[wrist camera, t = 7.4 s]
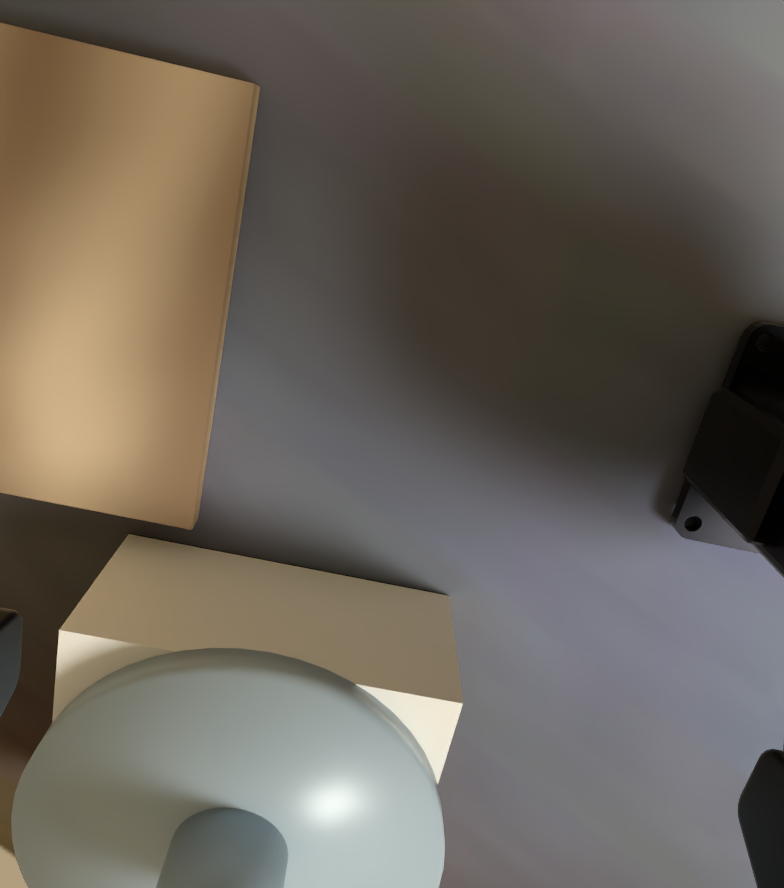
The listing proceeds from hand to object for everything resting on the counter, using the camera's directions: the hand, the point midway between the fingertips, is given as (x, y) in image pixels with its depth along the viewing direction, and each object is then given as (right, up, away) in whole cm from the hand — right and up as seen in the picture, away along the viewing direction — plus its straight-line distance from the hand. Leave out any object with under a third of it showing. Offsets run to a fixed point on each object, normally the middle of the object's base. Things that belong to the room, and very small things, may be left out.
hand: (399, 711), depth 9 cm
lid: (-4, -7, +11) cm, 14 cm away
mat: (-11, +8, +11) cm, 17 cm away
